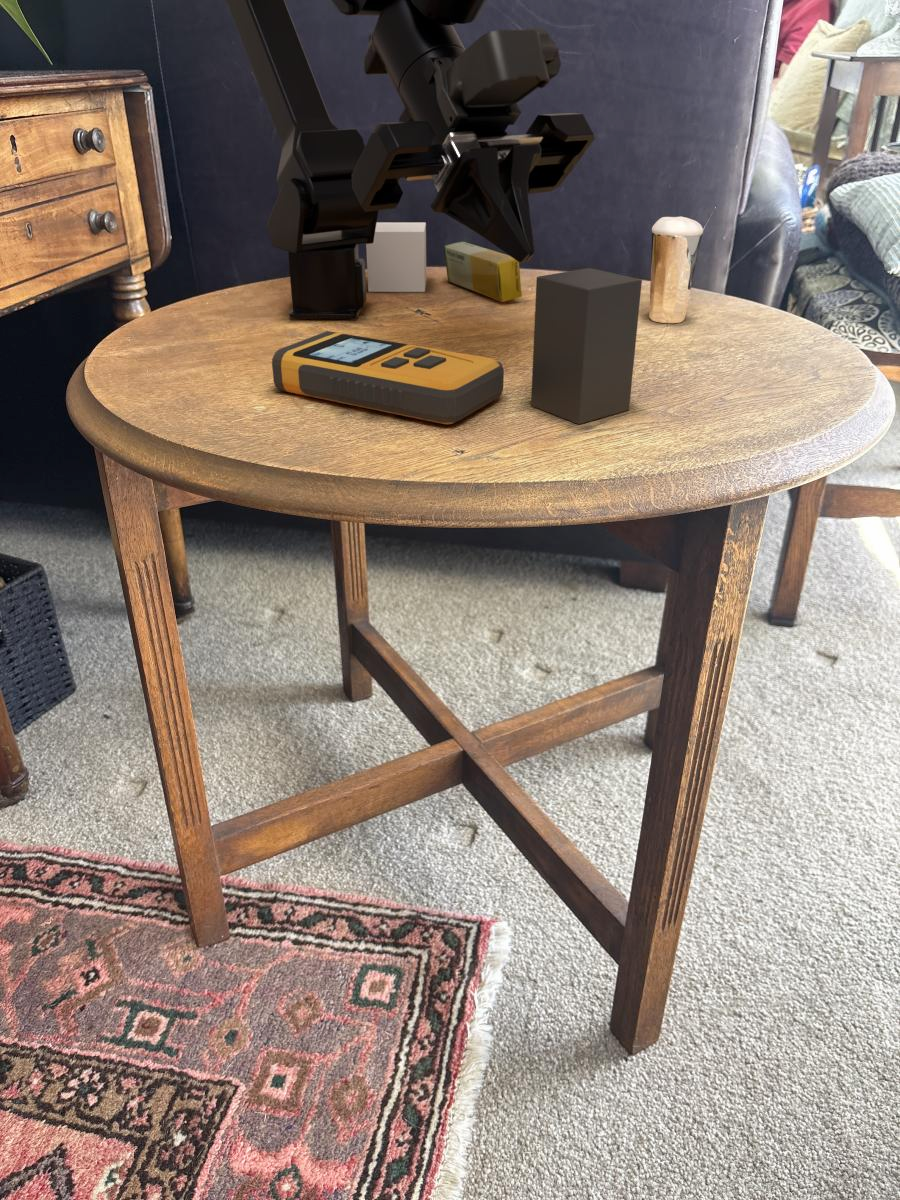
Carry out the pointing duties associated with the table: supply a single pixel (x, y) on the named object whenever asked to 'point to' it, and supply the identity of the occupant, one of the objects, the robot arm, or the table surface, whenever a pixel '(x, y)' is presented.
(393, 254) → the white cube
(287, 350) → the electronic device
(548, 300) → the block
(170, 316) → the table surface
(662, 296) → the milkshake
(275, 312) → the table surface
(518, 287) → the medication box
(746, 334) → the table surface
